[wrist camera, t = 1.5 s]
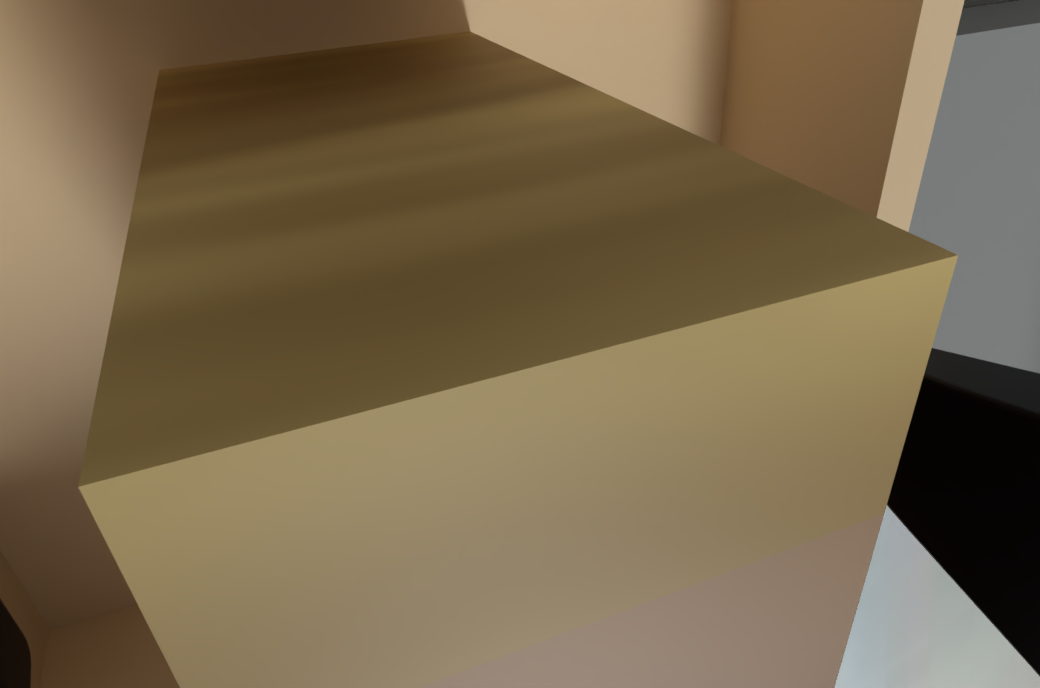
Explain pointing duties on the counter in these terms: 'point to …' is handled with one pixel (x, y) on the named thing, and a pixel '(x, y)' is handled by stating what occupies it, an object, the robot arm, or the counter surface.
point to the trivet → (988, 186)
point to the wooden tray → (335, 24)
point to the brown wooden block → (492, 385)
